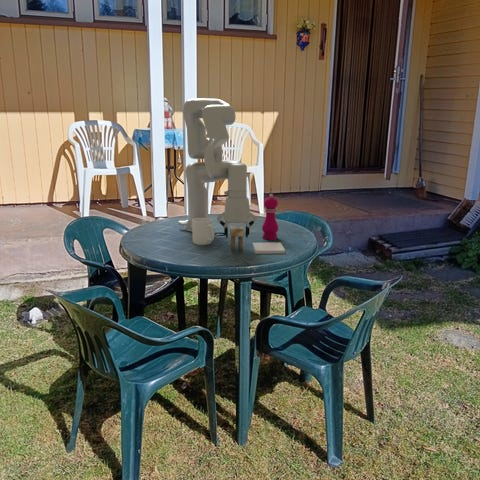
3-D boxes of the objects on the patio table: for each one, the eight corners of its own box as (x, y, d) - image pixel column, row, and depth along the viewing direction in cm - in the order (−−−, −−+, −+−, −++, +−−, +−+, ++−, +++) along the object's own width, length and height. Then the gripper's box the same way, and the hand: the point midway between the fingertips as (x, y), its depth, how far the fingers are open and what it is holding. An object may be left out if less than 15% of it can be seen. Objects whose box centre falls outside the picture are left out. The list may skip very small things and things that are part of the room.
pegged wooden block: (231, 250, 200) (231, 230, 198) (230, 245, 207) (230, 226, 205) (243, 250, 200) (243, 230, 198) (241, 245, 208) (242, 226, 205)
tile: (255, 253, 197) (255, 250, 196) (252, 245, 208) (252, 242, 208) (285, 253, 198) (285, 250, 197) (280, 245, 209) (280, 242, 209)
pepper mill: (276, 240, 216) (278, 195, 211) (260, 239, 218) (261, 194, 212) (278, 236, 223) (280, 192, 218) (263, 235, 224) (264, 192, 219)
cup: (203, 239, 218) (203, 216, 215) (221, 244, 209) (221, 221, 206) (188, 242, 212) (188, 219, 209) (206, 248, 204) (206, 224, 201)
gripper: (215, 195, 194) (215, 239, 198) (259, 195, 195) (258, 238, 200) (215, 192, 201) (215, 234, 205) (257, 192, 202) (256, 234, 207)
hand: (236, 236), depth 202 cm, fingers open, 7 cm apart
